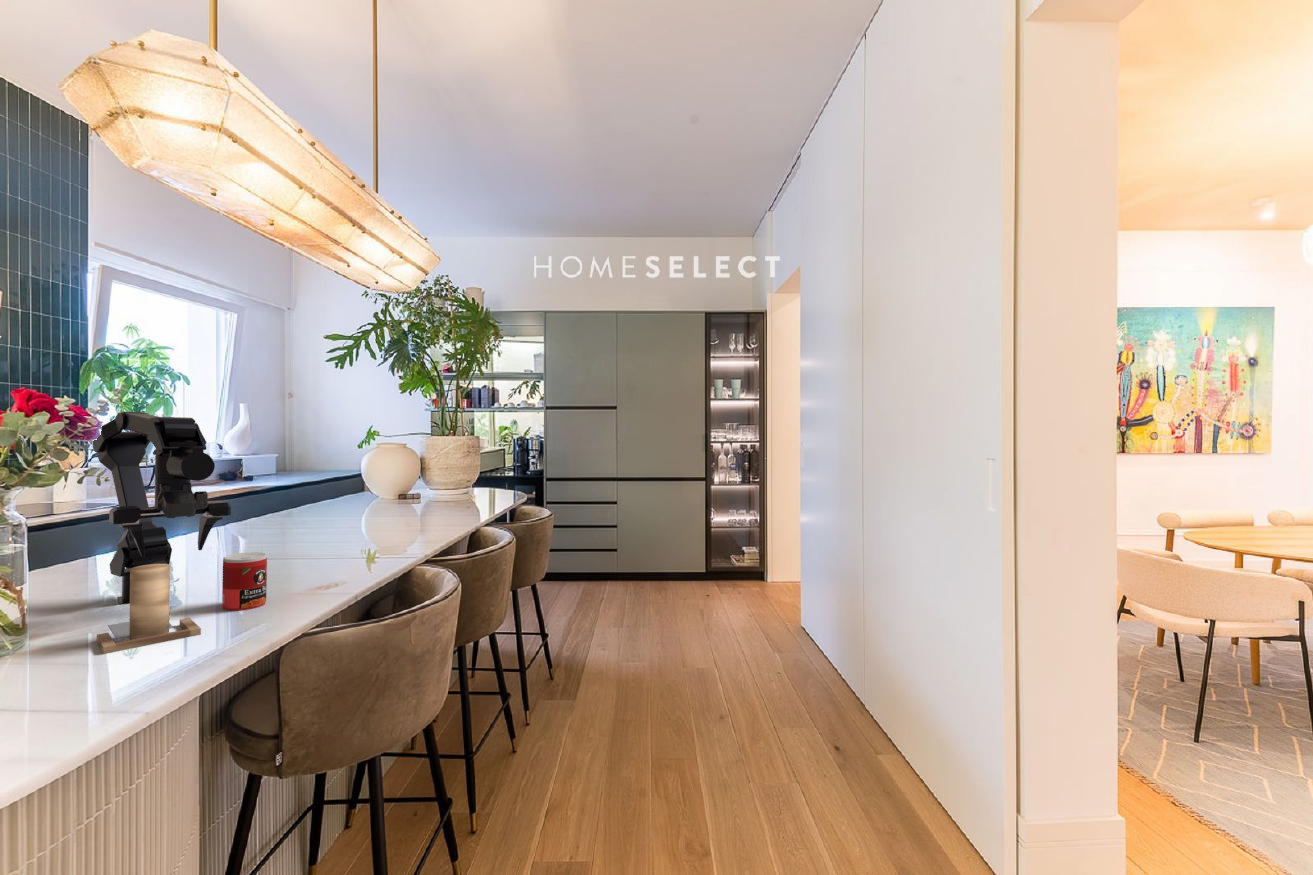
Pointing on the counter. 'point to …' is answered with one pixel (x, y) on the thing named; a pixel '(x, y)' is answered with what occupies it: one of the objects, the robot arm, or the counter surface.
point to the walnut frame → (148, 638)
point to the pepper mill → (149, 600)
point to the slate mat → (123, 629)
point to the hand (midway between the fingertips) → (172, 553)
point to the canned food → (244, 581)
